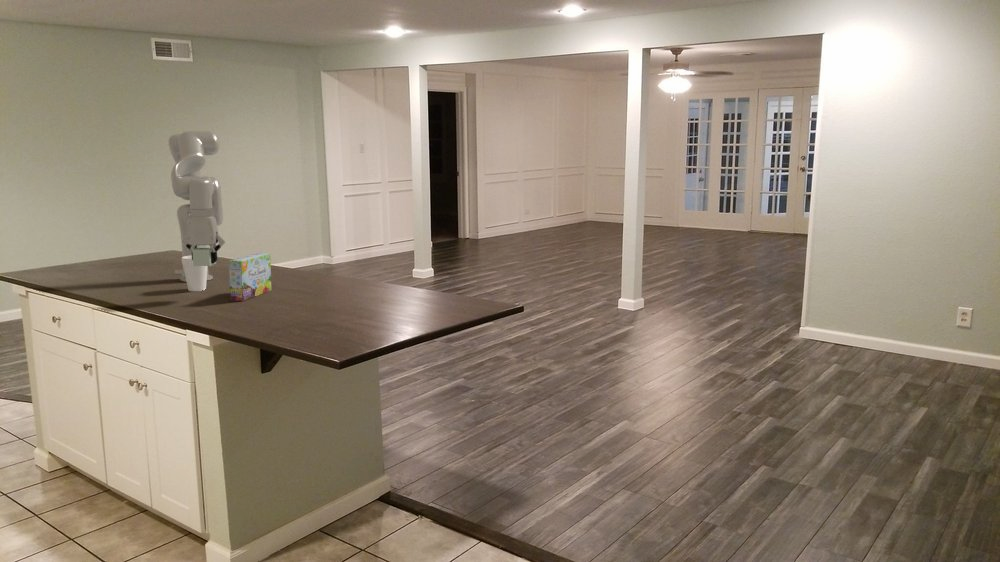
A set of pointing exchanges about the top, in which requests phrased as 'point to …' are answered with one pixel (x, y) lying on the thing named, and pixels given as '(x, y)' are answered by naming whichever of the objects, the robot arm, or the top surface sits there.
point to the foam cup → (194, 274)
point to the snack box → (249, 276)
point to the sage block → (202, 256)
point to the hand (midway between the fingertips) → (204, 261)
